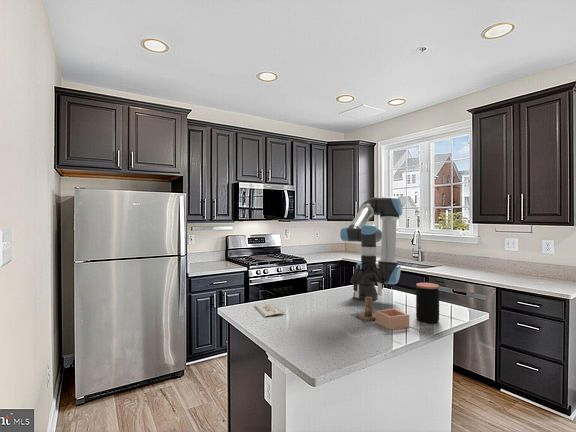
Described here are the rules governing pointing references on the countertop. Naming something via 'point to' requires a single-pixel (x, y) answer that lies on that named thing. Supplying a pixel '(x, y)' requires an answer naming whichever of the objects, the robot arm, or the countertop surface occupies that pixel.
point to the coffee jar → (427, 302)
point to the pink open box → (392, 319)
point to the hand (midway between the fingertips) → (368, 296)
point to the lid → (367, 311)
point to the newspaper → (268, 309)
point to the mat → (360, 319)
